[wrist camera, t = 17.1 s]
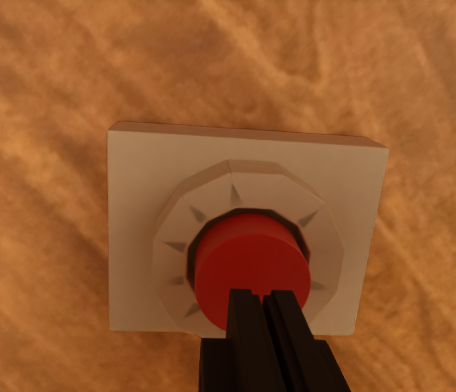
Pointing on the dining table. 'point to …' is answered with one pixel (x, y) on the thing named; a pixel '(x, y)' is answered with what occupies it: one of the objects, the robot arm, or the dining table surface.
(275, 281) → the button
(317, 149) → the button block
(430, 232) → the dining table surface
